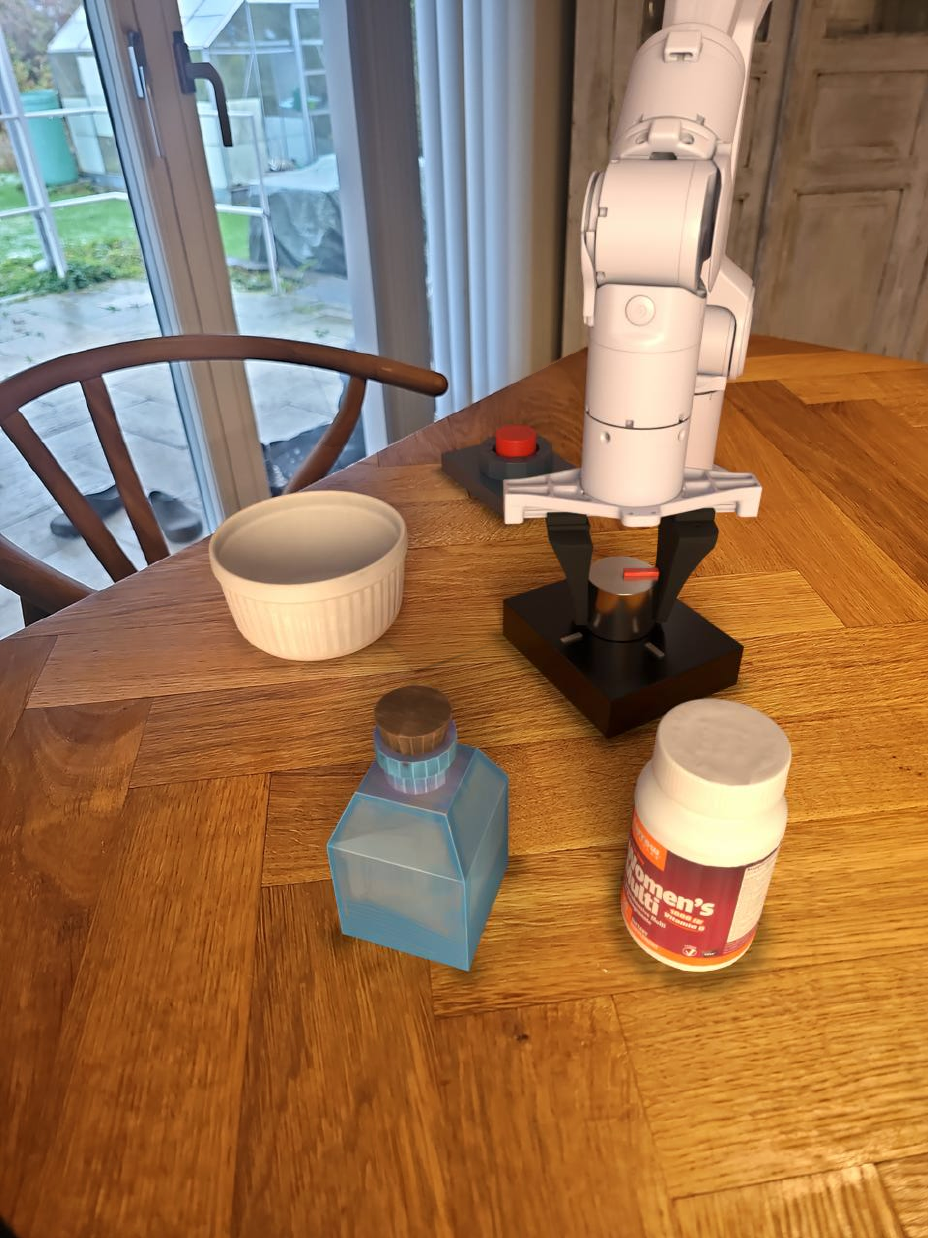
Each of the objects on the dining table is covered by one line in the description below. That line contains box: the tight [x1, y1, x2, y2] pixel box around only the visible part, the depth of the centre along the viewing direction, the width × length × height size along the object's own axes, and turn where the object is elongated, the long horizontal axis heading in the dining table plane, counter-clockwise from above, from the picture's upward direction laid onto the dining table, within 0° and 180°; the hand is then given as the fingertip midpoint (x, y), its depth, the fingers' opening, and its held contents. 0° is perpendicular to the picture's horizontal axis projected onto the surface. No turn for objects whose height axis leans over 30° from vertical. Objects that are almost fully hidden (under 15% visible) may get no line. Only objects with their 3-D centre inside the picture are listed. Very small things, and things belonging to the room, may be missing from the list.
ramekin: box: [208, 489, 409, 662], centre depth 59 cm, size 13×13×7 cm
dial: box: [585, 555, 659, 641], centre depth 53 cm, size 4×4×4 cm
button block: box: [440, 434, 578, 520], centre depth 76 cm, size 12×9×4 cm
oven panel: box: [502, 578, 745, 740], centre depth 55 cm, size 12×10×3 cm
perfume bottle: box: [326, 684, 510, 972], centre depth 37 cm, size 6×6×12 cm
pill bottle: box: [620, 698, 793, 973], centre depth 36 cm, size 6×6×11 cm
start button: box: [494, 424, 537, 457], centre depth 75 cm, size 4×4×2 cm
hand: (618, 615), depth 54 cm, fingers closed on dial, 4 cm apart
